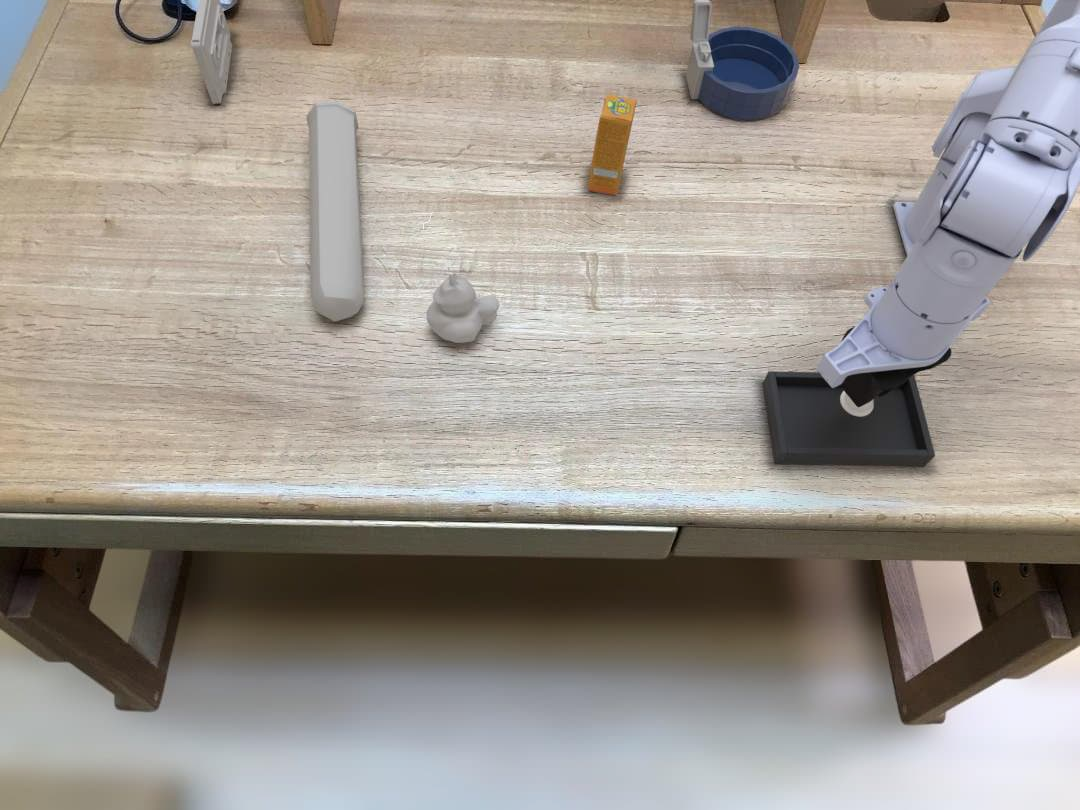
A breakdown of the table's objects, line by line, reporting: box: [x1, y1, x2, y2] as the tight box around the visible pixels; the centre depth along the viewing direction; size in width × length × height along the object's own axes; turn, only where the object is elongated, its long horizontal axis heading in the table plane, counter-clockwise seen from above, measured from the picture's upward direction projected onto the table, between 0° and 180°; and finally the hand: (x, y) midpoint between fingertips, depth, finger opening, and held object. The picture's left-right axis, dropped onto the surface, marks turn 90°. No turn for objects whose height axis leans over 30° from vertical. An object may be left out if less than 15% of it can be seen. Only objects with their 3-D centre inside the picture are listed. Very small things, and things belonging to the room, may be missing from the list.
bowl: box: [698, 25, 800, 122], centre depth 96 cm, size 11×11×4 cm
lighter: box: [685, 0, 714, 100], centre depth 95 cm, size 7×2×8 cm, turn 4°
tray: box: [762, 370, 936, 467], centre depth 75 cm, size 13×8×2 cm, turn 90°
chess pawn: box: [840, 391, 874, 417], centre depth 70 cm, size 3×3×5 cm
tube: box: [305, 100, 365, 323], centre depth 83 cm, size 5×5×25 cm
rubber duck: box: [426, 272, 500, 344], centre depth 76 cm, size 5×7×8 cm
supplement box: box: [587, 93, 638, 196], centre depth 85 cm, size 3×3×10 cm
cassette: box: [190, 0, 233, 105], centre depth 93 cm, size 12×2×8 cm, turn 5°
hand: (864, 391), depth 71 cm, fingers closed on chess pawn, 2 cm apart
